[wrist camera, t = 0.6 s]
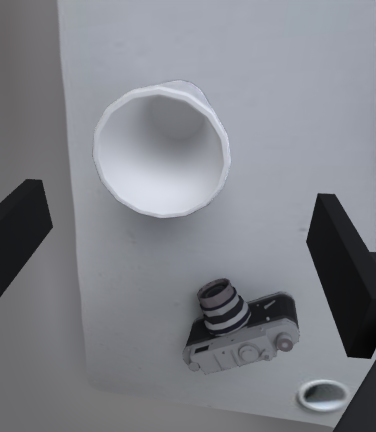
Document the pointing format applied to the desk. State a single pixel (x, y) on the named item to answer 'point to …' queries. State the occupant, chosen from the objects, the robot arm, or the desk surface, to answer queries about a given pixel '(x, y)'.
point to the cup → (162, 150)
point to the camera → (239, 329)
